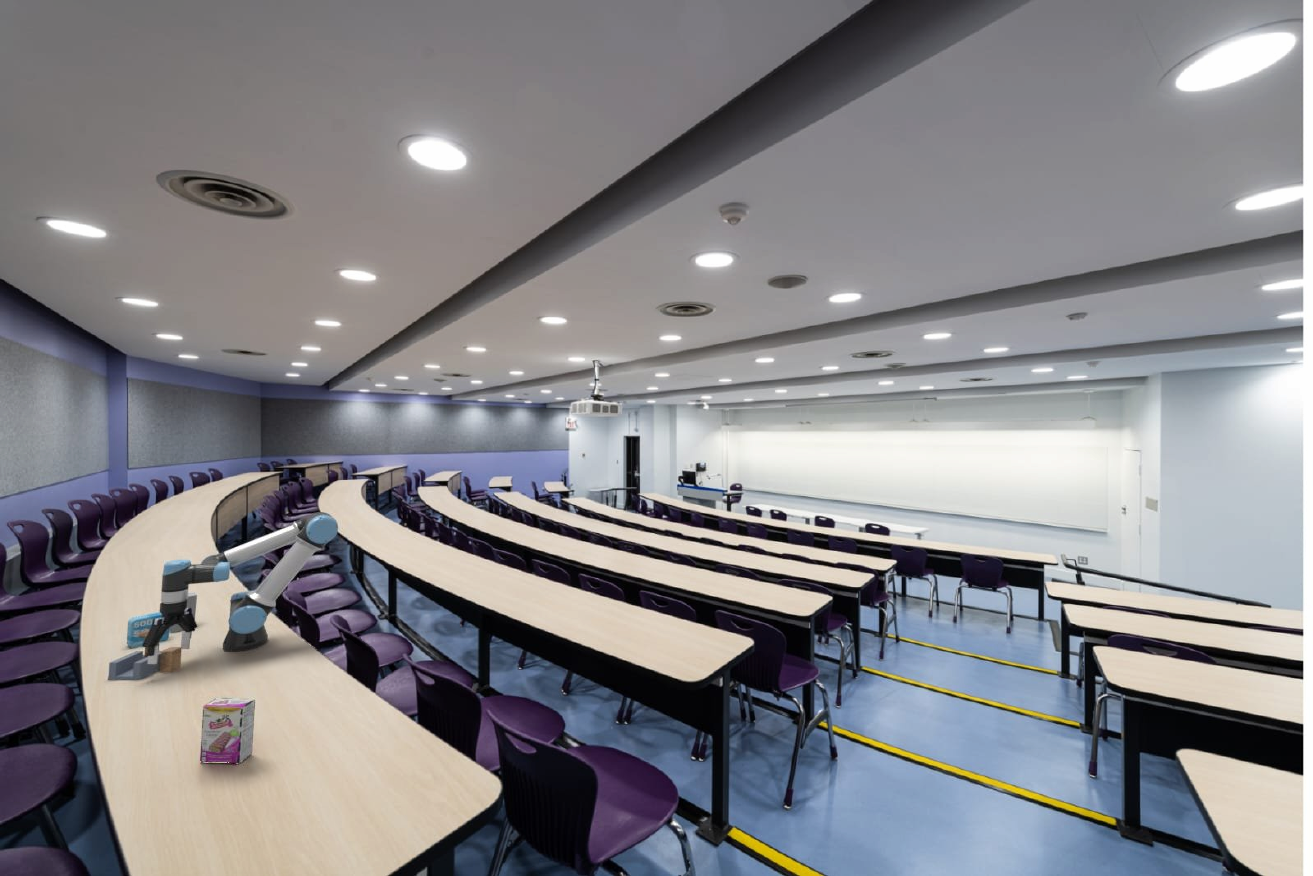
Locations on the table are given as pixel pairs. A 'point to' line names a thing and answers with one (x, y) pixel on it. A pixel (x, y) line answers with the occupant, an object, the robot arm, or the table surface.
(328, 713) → the table surface
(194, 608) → the skincare box
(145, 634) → the door knob
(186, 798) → the table surface
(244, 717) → the candy bar box
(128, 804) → the table surface
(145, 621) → the data package
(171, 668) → the tab
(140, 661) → the notch board
